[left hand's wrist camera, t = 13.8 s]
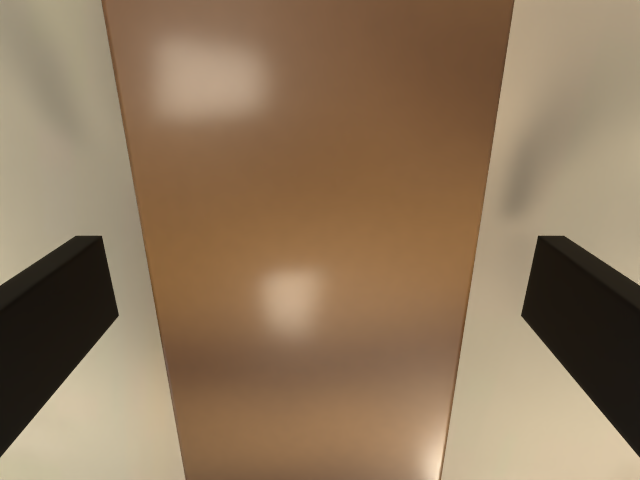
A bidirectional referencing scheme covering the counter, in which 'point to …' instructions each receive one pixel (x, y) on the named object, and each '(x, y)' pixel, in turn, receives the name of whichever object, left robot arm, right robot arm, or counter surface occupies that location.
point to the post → (310, 221)
